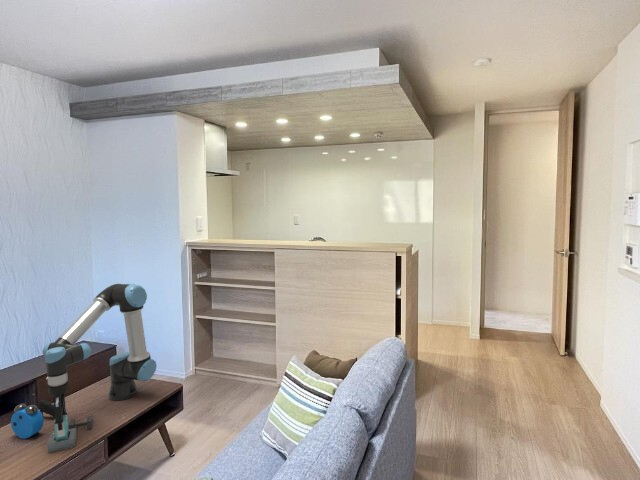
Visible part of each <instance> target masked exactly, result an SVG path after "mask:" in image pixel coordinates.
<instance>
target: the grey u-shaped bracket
mask: <svg viewBox="0 0 640 480" xmlns="http://www.w3.org/2000/svg"><path fill="white" fill-rule="evenodd" d="M86 417H87V418H86V421H83V422H77V423H76V418H73V419H72V418H71V419H70V420H69V421H68V429H73V428H77V427H80V426H84V425H86V430H87V431H89V430H92V429H93V425H94V424H93V423H94V420H93V419H94V418H93V415H87V416H86Z"/></svg>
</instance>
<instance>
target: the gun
mask: <svg viewBox="0 0 640 480" xmlns="http://www.w3.org/2000/svg"><path fill="white" fill-rule="evenodd" d="M53 404H54V402H52V401H49V400H46V399H41V400H40V401H39V403H38V406H39V408H40V409H39V411H40V412H41V414H42V416H43V417H44V413H45V414H47V415H49V416H51V417H52V418H54V419H55V412H54V405H53ZM65 413H67V411H66V412H65Z"/></svg>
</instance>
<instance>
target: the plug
mask: <svg viewBox="0 0 640 480" xmlns="http://www.w3.org/2000/svg"><path fill="white" fill-rule="evenodd" d="M63 421H64V429H65V436H62V437H58V436H57V424H54V423H55V419H54V420H53V424H54V425H53V426H54V432H55V438H56V440H59V439H64V438H68V436H69V433H68V429H69V426H68V425H69V419H68V414H67V415H63Z"/></svg>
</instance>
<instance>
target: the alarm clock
mask: <svg viewBox="0 0 640 480" xmlns="http://www.w3.org/2000/svg"><path fill="white" fill-rule="evenodd" d="M13 409H14V410H13V411H14V413H13V414H12V416H11V419H10V426H11V429H12V431H13V433H14V434H15V435H16V436H17V437H18V438H21V439H28V438H31V437H32V436H34V435H36V434H37V435H39V432H40V431H42V430H43V426H44V424H45V421H44V415H43V416H42V414H41V412H40V409H39V408H38V406H37V405H35V404H30V405H28V406H27V404H25V403H20V404H17V405H16V406H15V408H13Z"/></svg>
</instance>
